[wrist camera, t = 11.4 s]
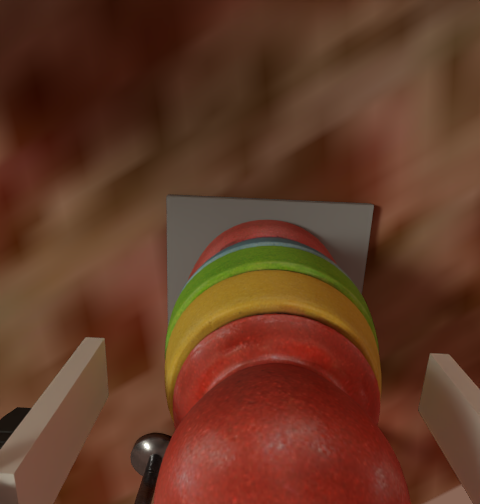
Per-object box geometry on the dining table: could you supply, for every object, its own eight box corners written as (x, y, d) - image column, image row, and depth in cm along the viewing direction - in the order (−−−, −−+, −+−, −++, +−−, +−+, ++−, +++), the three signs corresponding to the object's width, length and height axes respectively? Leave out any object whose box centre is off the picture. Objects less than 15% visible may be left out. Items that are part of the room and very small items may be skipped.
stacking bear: (183, 367, 27) (61, 784, 10) (172, 216, 24) (-29, 428, 7) (348, 366, 26) (526, 799, 9) (357, 213, 23) (639, 429, 6)
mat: (168, 194, 24) (166, 196, 23) (371, 203, 24) (374, 205, 23) (170, 370, 28) (168, 375, 27) (347, 379, 27) (349, 385, 27)
